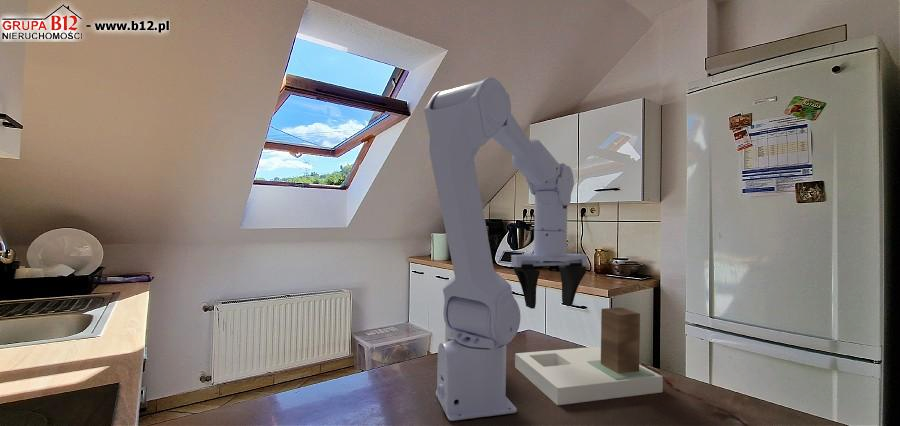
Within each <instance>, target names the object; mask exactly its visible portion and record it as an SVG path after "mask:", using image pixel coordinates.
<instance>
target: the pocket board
mask: <svg viewBox="0 0 900 426" xmlns="http://www.w3.org/2000/svg"><path fill="white" fill-rule="evenodd" d="M596 360H601V345H600V346H589V347H588V346H587V347H579V348H577V347H576V348H566V349H565V348H563V349H554V350H553V349H552V350H542V351H529V352H518V353H517V352H516V353H515V354H514V367H515V369H516V370H518V371H519V373H520V374H521V375H523V376H524V378H527V380H528V381H530V382H531V384H533V385H534V386H535V387H537V389H538V390H540V391H541V392H542V393H543V394H544V395H545V396H546V397H547V398H548V399H549V400H551V401H552V402H553V403H554V404H555V405H556V406H562V405H563V406H564V405H571V404H578V403H579V404H580V403H585V402H593V401H594V402H595V401H602V400H609V399H612V400H613V399H618V398H626V397H634V396H643V395H649V394H658V393H663V387H664V386H663V383H664V382H663V381H664V379H663V377H664V376H663V375H661V374H659V373H657V372H655V371H653V370H651V369H648V368H647V367H645V366H643V365H641V364H639V366H640V367H641V368H643V369H645V370H647V371H649V372H651V373H653V374H655V376H647V377H638V378H629V379H620V380H615V379H613V378H612V377H610V376H609V375H607V374H605V373H604V372H602V371H600V370H599V369H597V368H595V367H594V366H592V365H591V364H589V363H587V361H596Z"/></svg>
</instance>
